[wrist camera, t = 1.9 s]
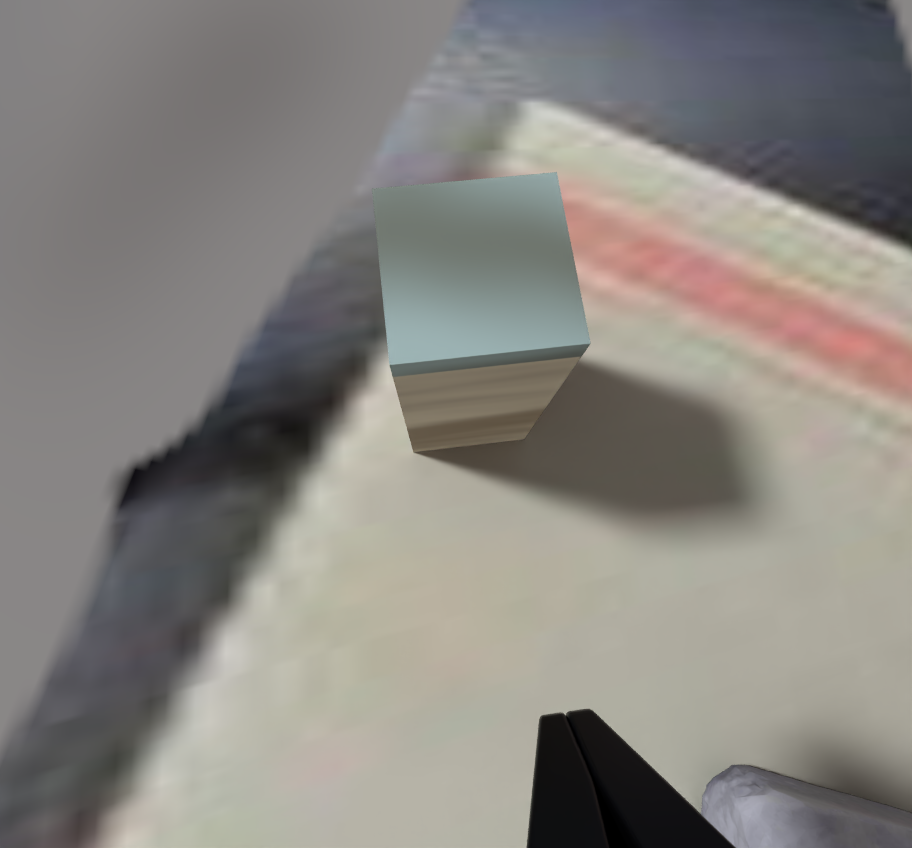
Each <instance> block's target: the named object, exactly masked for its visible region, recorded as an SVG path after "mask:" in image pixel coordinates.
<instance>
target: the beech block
mask: <svg viewBox="0 0 912 848" xmlns="http://www.w3.org/2000/svg"><path fill="white" fill-rule="evenodd" d="M372 194H373V204H374V214H375V224H376V234H377V244H378V254H379V264H380V274H381V284H382V294H383V304H384V314H385V324H386V334H387V344H388V354H389V364H390V368H391V372H392V376H393V379H394V383H395V386H396V390H397V394H398V397H399V401H400V405H401V408H402V412H403V416H404V419H405V423H406V427H407V430H408V434H409V438H410V441H411V445H412V449H413V452H421V451H429V450H438V449H446V448H455V447H463V446H472V445H481V444H489V443H498V442H506V441H515V440H523V439H525V437H526V436H527V434H528V433H529V431H530V430H531V429H532V427H533V426H534V424H535V423H536V421H537V420H538V419H539V417H540V416H541V414H542V413H543V411H544V410H545V408H546V407H547V406H548V404H549V403H550V401H551V400H552V398H553V397H554V395H555V394H556V393H557V391H558V390H559V388H560V387H561V385H562V384H563V382H564V381H565V380H566V378H567V377H568V375H569V374H570V372H571V371H572V369H573V368H574V367H575V365H576V364H577V362H578V361H579V359H580V358H581V356H582V355H583V354H584V352H585V351H586V349H587V348H588V346H589V345H590V344H591V343H590V338H589V333H588V328H587V323H586V318H585V313H584V308H583V303H582V298H581V293H580V288H579V282H578V277H577V272H576V267H575V262H574V257H573V252H572V247H571V242H570V237H569V232H568V227H567V222H566V217H565V212H564V207H563V202H562V197H561V192H560V186H559V181H558V176H557V172H554V173H543V174H532V175H521V176H510V177H499V178H487V179H476V180H465V181H454V182H443V183H432V184H420V185H409V186H398V187H387V188H376V189H372Z"/></svg>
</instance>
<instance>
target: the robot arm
mask: <svg viewBox="0 0 912 848" xmlns="http://www.w3.org/2000/svg"><path fill="white" fill-rule="evenodd" d="M527 848H736V847H735V846H734V845H733V844H732V843H731V842H730V841H728V840H727V839H726V838H725V837H724V836H723V835H722V834H721V833H720V832H719V831H718V830H717V829H716V828H715V827H714V826H713V825H712V824H711V823H710V822H709V821H708V820H707V819H706V818H704V817H703V816H702V815H701V814H700V813H699V812H698V811H697V810H696V809H695V808H694V807H693V806H692V805H691V804H690V803H689V802H688V801H687V800H686V799H685V798H684V797H683V796H681V795H680V794H679V793H678V792H677V791H676V790H675V789H674V788H673V787H672V786H671V785H670V784H669V783H668V782H667V781H666V780H665V779H664V778H663V777H662V776H661V775H660V774H659V773H657V772H656V771H655V770H654V769H653V768H652V767H651V766H650V765H649V764H648V763H647V762H646V761H645V760H644V759H643V758H642V757H641V756H640V755H639V754H638V753H637V752H636V751H634V750H633V749H632V748H631V747H630V746H629V745H628V744H627V743H626V742H625V741H624V740H623V739H622V738H621V737H620V736H619V735H618V734H617V733H616V732H615V731H614V730H613V729H612V728H610V727H609V726H608V725H607V724H606V723H605V722H604V721H603V720H602V719H601V718H600V717H599V716H598V715H597V714H596V713H595V712H594V711H592V710H590V709H582V710H575V711H569V712H567V713H566V716H565V714H563V713H554V714H547V715H542V716H541V717H540V719H539V727H538V737H537V747H536V758H535V768H534V778H533V788H532V798H531V808H530V818H529V828H528V839H527Z"/></svg>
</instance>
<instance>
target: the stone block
mask: <svg viewBox="0 0 912 848" xmlns="http://www.w3.org/2000/svg"><path fill="white" fill-rule="evenodd" d="M701 815H702V816H703V817H704V818H706V819H707V820H708V821H709V822H710V823H711V824H712V825H713V826H714V827H715V828H716V829H717V830H718V831H719V832H720V833H721V834H722V835H723V836H724V837H725V838H726V839H727V840H728V841H730V842H731V843H732V844H733V845H734V846H735V847H736V848H912V813H911V812H907V811H904V810H901V809H898V808H894V807H891V806H888V805H884V804H880V803H877V802H873V801H870V800H866V799H863V798H859V797H856V796H853V795H849V794H845V793H841V792H837V791H834V790H830V789H827V788H822V787H818V786H815V785H812V784H808V783H805V782H802V781H799V780H795V779H792V778H789V777H786V776H780V775H777V774H775V773H772V772H769V771H765V770H761V769H758V768H755V767H752V766H747V765H732V766H730V767H729V768H728V769H726V770H725V771H723V772H721V773H720V774H718V775H717V776H715V777H713V779H712V780H711V781H710V782H709V783H708V784H707V786H706V790H705V792H704V794H703V796H702V810H701Z"/></svg>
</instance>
